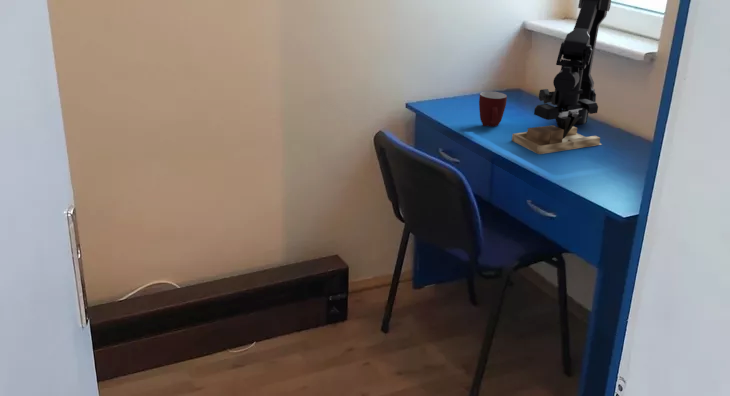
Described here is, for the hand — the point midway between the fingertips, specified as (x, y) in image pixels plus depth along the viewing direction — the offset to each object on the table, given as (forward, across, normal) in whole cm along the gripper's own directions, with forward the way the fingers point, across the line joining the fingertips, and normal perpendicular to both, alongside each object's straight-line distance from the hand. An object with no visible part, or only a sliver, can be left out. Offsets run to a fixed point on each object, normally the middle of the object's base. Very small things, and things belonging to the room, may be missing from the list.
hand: (562, 138), depth 211 cm
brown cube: (+1, +4, 0) cm, 4 cm away
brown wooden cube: (+1, +9, 0) cm, 9 cm away
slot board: (+2, +2, 0) cm, 3 cm away
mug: (+2, +10, -20) cm, 23 cm away
